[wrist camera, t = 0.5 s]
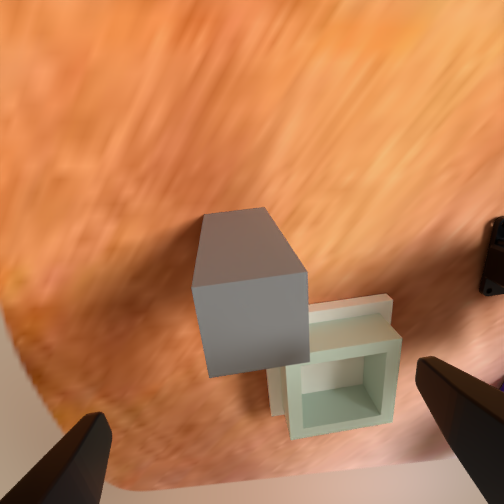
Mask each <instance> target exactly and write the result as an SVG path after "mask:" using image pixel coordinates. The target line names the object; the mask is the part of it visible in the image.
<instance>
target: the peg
mask: <svg viewBox="0 0 504 504" xmlns="http://www.w3.org/2000/svg"><path fill="white" fill-rule="evenodd" d="M191 289H192V294H193V299H194V304H195V309H196V314H197V319H198V324H199V329H200V334H201V339H202V344H203V349H204V354H205V359H206V364H207V369H208V374H209V378H213V377H219V376H226V375H232V374H238V373H245V372H251V371H257V370H263V369H270V368H276V367H282V366H289V365H295V364H301V363H308V362H310V343H309V308H308V273H307V270H306V269H305V267H304V266H303V264H302V263H301V261H300V260H299V258H298V257H297V255H296V254H295V252H294V251H293V249H292V248H291V246H290V245H289V243H288V242H287V240H286V239H285V237H284V236H283V234H282V233H281V231H280V230H279V228H278V227H277V225H276V224H275V222H274V221H273V219H272V218H271V216H270V215H269V213H268V212H267V210H266V209H265V207H261V208H253V209H245V210H237V211H229V212H220V213H212V214H204V218H203V223H202V229H201V235H200V241H199V246H198V252H197V258H196V264H195V269H194V275H193V281H192V287H191Z"/></svg>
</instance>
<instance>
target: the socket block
mask: <svg viewBox="0 0 504 504" xmlns="http://www.w3.org/2000/svg"><path fill="white" fill-rule="evenodd" d="M392 307H393V299H392V298H391V297H389V296H388V295H387V294H386V293H385V294H378V295H371V296H364V297H358V298H351V299H344V300H337V301H330V302H323V303H316V304H309V305H308V308H309V343H310V362H308V363H301V364H295V365H289V366H282V367H276V368H270V369H266V374H267V384H268V394H269V404H270V410H271V415H272V416H278V415H285V419H286V423H287V427H288V431H289V435H290V440H295V439H300V438H306V437H312V436H317V435H323V434H329V433H334V432H340V431H346V430H352V429H357V428H363V427H369V426H374V425H380V424H386V423H391V422H393V414H394V405H395V397H396V389H397V380H398V372H399V364H400V355H401V347H402V337H401V336H400V335H399V334H398V333H397V332H396V331H395V329H394V328H393V327H392V326H391V317H392Z"/></svg>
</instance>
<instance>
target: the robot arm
mask: <svg viewBox="0 0 504 504" xmlns="http://www.w3.org/2000/svg"><path fill="white" fill-rule="evenodd" d="M503 222H504V216H501V217H499V218H497V219H496V220H495V222H494V225H493V230H492V234H491V239H490V243H489V248H488V252H487V257H486V261H485V266H484V270H483V274H482V279H481V283H480V288H479V292H480V293H481V294H483V295H485V296H493V295H500V294H504V223H503ZM502 223H503V224H502ZM415 382H416V386H417V388H418V390H419V392H420V394H421V395H422V397H423V399H424V401H425V403H426V405H427V406H428V408H429V410H430V412H431V414H432V415H433V417H434V419H435V421H436V423H437V425H438V426H439V428H440V430H441V432H442V434H443V435H444V437H445V439H446V441H447V442H448V444H449V445H450V447H451V448H452V450H453V452H454V453H455V455H456V456H457V458H458V459H459V461H460V462H461V463H462V465H463V466H464V468H465V470H466V471H467V473H468V474H469V475H470V477H471V478H472V480H473V481H474V483H475V484H476V486H477V487H478V489H479V490H480V492H481V493H482V495H483V496H484V498H485V499H486V501H487V502H488V504H504V392H503V391H501V390H499V389H497V388H495V387H493V386H491V385H489V384H487V383H485V382H483V381H481V380H479V379H477V378H475V377H473V376H472V375H470V374H468V373H466V372H464V371H462V370H460V369H458V368H456V367H454V366H452V365H450V364H448V363H446V362H444V361H442V360H440V359H438V358H436V357H434V356H429V357H423V358H419V359H418V361H417V368H416V377H415ZM111 443H112V431H111V429H110V426H109V424H108V422H107V419H106V417H105V415H104V413H102V412H95V413H89V414H86V415H85V416H84V417H82V418H81V419H80V420H79V422H78V423H77V424H76V425H75V426H74V427H73V428H72V429H71V430H70V431H69V432H68V433H67V434H66V435H65V436H64V437H63V438H62V439H61V440H60V441H59V442H58V443H57V444H56V445H55V446H54V447H53V448H52V449H51V450H50V451H49V452H48V453H47V454H46V455H45V456H44V457H43V458H42V459H41V460H40V461H39V462H38V463H37V464H36V465H35V466H34V467H33V468H32V469H31V470H30V471H29V472H28V473H27V474H26V475H25V476H24V477H23V478H22V479H21V480H20V481H19V482H18V483H17V484H16V485H15V486H14V487H13V488H12V489H11V490H10V491H9V492H8V493H7V494H6V495H5V496H4V497H3V498H2V499H1V500H0V504H99V502H100V498H101V493H102V488H103V483H104V478H105V473H106V468H107V463H108V458H109V453H110V448H111Z"/></svg>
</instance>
